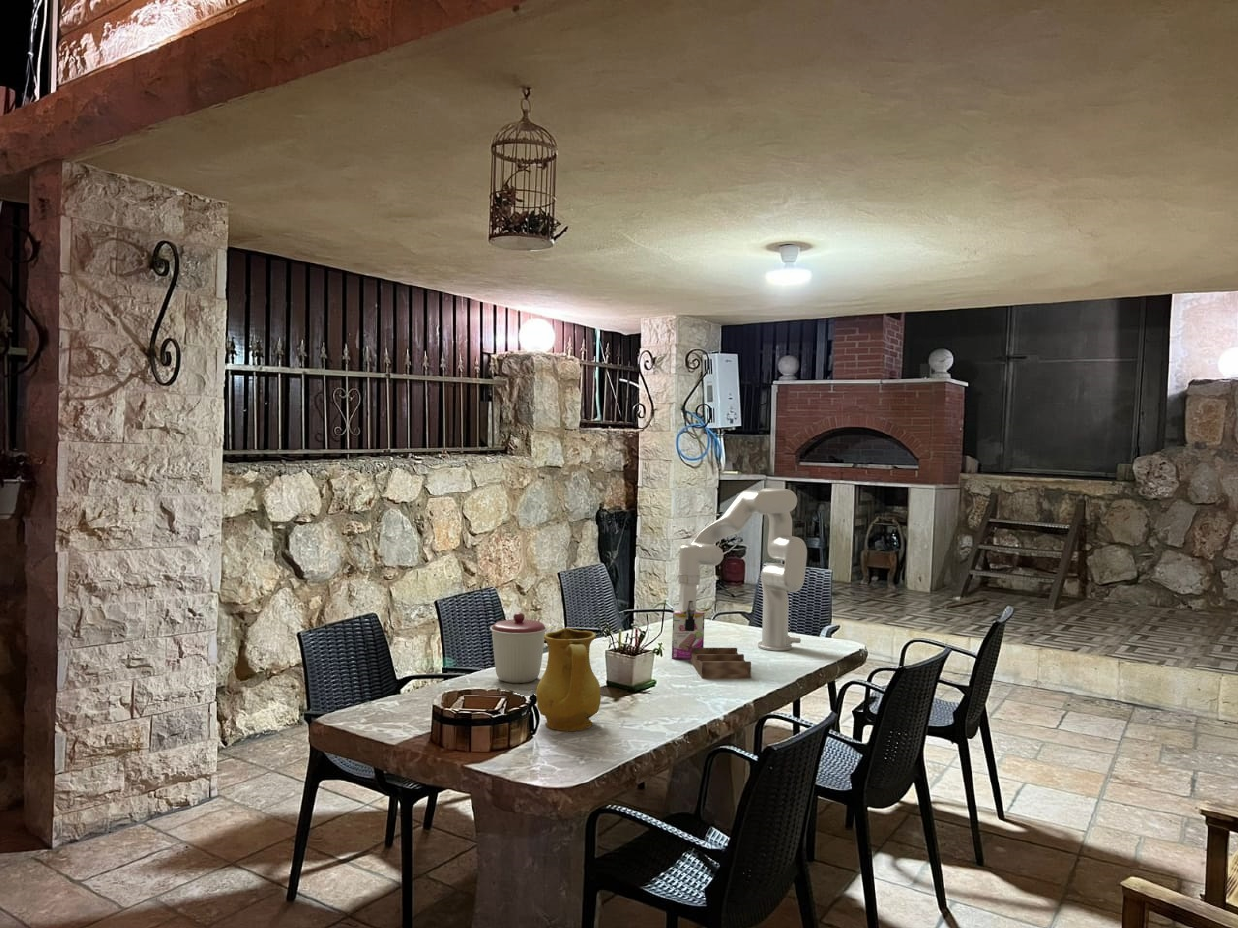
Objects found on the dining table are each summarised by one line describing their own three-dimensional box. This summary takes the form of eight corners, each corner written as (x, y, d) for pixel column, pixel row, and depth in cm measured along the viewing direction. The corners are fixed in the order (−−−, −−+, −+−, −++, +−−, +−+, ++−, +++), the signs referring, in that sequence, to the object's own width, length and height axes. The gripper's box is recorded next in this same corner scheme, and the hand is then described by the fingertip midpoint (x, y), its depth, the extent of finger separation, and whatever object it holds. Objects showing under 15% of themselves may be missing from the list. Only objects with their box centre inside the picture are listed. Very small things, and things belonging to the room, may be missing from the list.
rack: (736, 662, 307) (736, 647, 307) (750, 678, 287) (751, 662, 286) (690, 662, 306) (691, 647, 306) (702, 678, 285) (702, 662, 285)
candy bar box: (671, 659, 311) (672, 612, 310) (672, 655, 316) (673, 610, 315) (703, 660, 309) (704, 613, 309) (703, 657, 314) (704, 611, 314)
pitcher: (608, 715, 242) (606, 625, 240) (591, 740, 223) (588, 643, 222) (548, 712, 245) (546, 623, 244) (526, 736, 227) (523, 640, 226)
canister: (512, 669, 292) (513, 605, 291) (557, 677, 283) (558, 611, 282) (477, 681, 276) (478, 613, 276) (524, 690, 267) (525, 620, 267)
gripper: (674, 576, 320) (672, 623, 320) (682, 582, 303) (680, 632, 303) (695, 576, 321) (693, 623, 321) (704, 583, 304) (702, 633, 304)
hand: (687, 628), depth 312 cm, fingers open, 9 cm apart
